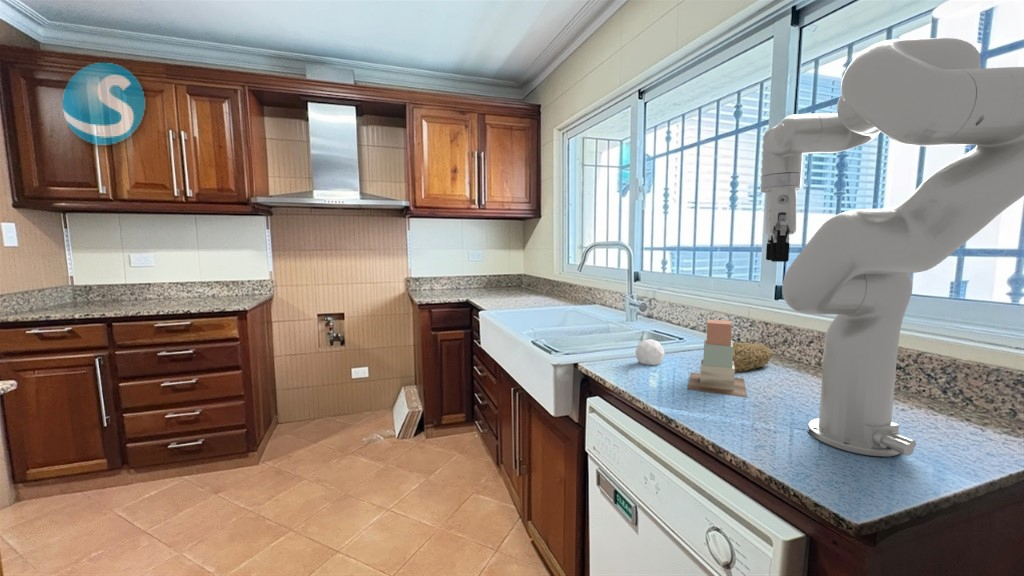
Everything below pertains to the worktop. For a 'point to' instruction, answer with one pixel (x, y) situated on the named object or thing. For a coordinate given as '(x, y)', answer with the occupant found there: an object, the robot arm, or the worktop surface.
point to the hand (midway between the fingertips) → (776, 260)
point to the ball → (649, 352)
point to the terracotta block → (719, 332)
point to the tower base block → (717, 377)
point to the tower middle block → (718, 355)
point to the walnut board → (738, 388)
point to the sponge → (750, 356)
